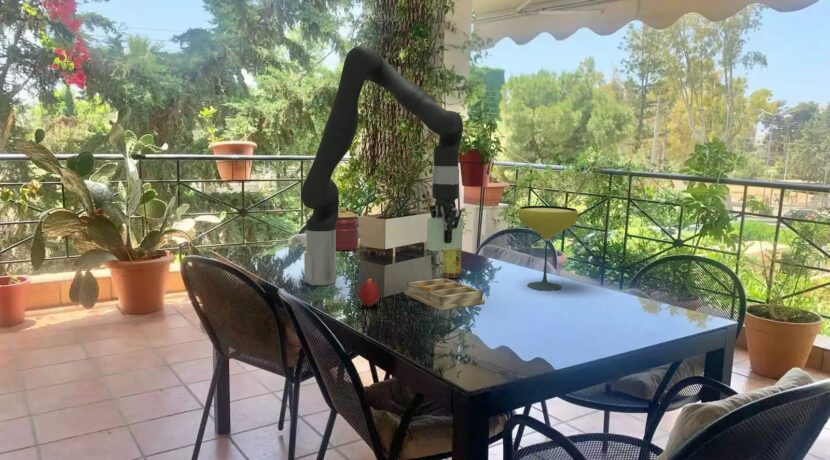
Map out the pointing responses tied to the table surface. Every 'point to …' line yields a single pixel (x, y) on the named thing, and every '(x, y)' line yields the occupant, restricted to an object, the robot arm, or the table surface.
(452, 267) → the sauce bottle
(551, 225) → the cocktail glass
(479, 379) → the table surface
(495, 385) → the table surface
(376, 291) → the onion
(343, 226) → the canister
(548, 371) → the table surface
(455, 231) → the block
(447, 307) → the rack
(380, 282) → the table surface
